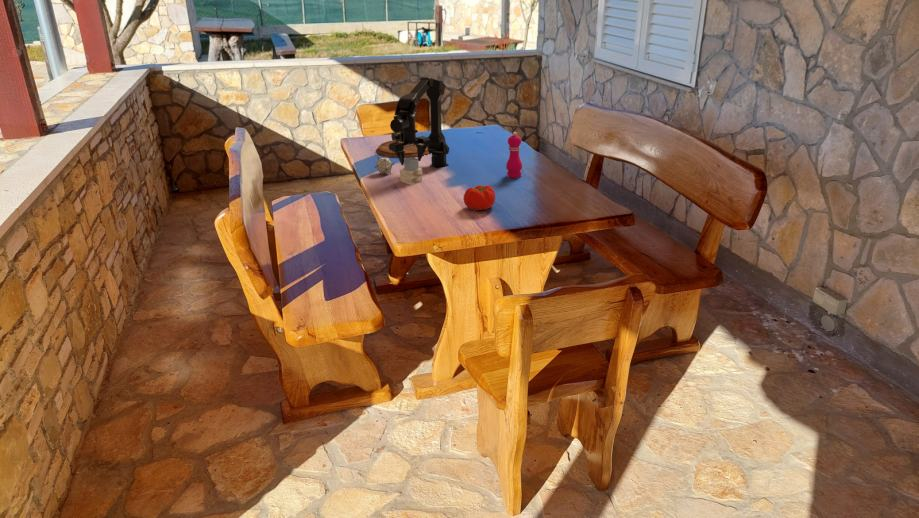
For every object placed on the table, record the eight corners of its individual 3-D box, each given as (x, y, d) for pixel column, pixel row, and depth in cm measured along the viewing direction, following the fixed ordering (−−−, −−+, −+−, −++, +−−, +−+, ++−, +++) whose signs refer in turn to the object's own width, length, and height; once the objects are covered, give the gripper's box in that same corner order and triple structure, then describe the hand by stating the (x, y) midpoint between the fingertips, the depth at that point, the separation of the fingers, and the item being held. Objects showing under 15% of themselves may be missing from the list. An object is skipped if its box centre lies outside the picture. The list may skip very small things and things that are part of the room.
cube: (412, 166, 281) (412, 157, 279) (418, 169, 278) (418, 159, 276) (404, 168, 278) (403, 158, 277) (410, 171, 275) (409, 161, 273)
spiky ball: (388, 182, 292) (389, 169, 283) (371, 175, 292) (372, 162, 283) (395, 168, 296) (397, 155, 288) (379, 161, 296) (380, 148, 288)
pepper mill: (524, 174, 285) (525, 130, 276) (518, 179, 279) (519, 134, 270) (509, 173, 288) (509, 129, 279) (503, 177, 282) (503, 133, 273)
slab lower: (412, 178, 285) (412, 172, 284) (422, 182, 280) (422, 175, 279) (400, 182, 281) (399, 175, 279) (409, 185, 276) (409, 179, 275)
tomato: (472, 216, 239) (472, 194, 235) (459, 206, 249) (458, 185, 246) (502, 210, 243) (502, 189, 240) (488, 201, 254) (488, 180, 250)
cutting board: (403, 140, 350) (403, 135, 349) (450, 147, 333) (449, 142, 332) (363, 153, 327) (363, 148, 326) (411, 162, 309) (410, 157, 308)
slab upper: (411, 172, 284) (411, 166, 282) (422, 175, 279) (422, 168, 278) (400, 176, 279) (399, 169, 278) (410, 179, 275) (410, 172, 273)
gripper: (414, 121, 281) (416, 155, 288) (380, 128, 270) (382, 163, 277) (430, 125, 273) (431, 160, 280) (395, 132, 262) (397, 168, 269)
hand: (410, 163), depth 277 cm, fingers open, 9 cm apart
